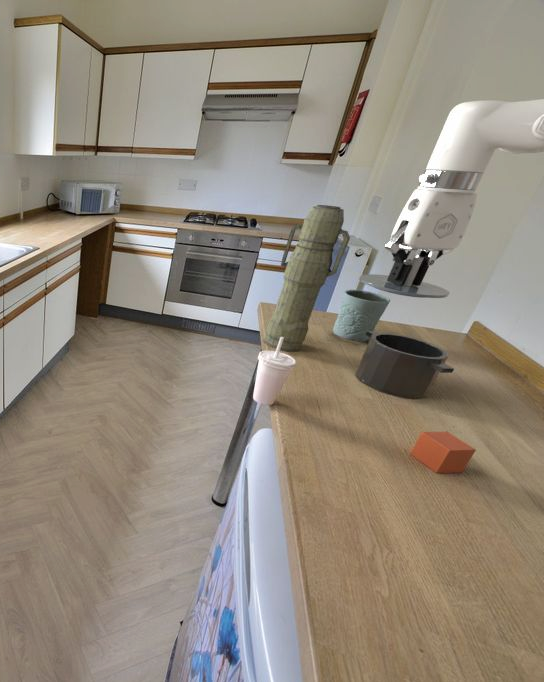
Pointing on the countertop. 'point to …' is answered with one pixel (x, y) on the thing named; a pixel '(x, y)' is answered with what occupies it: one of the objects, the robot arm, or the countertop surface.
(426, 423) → the countertop surface
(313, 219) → the thermos
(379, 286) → the lid
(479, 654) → the countertop surface
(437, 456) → the block
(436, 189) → the robot arm
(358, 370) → the pot
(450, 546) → the countertop surface
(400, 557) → the countertop surface
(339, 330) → the green embossed cup
